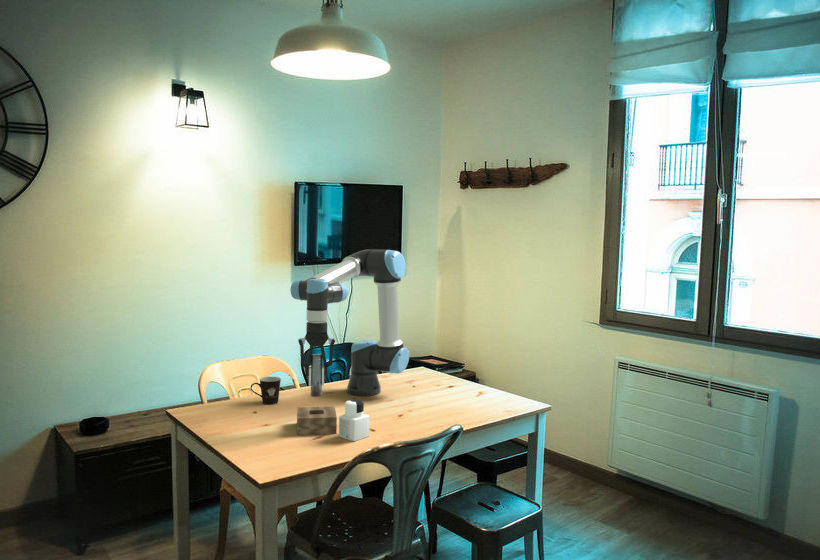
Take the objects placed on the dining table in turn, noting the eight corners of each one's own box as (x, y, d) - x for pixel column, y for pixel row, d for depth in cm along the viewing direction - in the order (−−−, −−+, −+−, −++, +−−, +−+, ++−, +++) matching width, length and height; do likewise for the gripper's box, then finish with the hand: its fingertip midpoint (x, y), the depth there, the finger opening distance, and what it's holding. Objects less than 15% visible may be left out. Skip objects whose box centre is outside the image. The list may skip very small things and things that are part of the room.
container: (353, 431, 231) (354, 396, 230) (369, 436, 227) (369, 400, 226) (338, 437, 226) (338, 401, 224) (354, 441, 221) (354, 405, 220)
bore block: (334, 421, 243) (334, 406, 242) (336, 433, 229) (336, 417, 228) (297, 423, 240) (297, 407, 240) (296, 435, 227) (297, 418, 226)
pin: (321, 393, 236) (322, 353, 235) (321, 396, 232) (322, 355, 231) (310, 394, 235) (311, 353, 234) (310, 396, 231) (311, 356, 230)
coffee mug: (283, 400, 272) (283, 377, 271) (277, 405, 263) (277, 381, 262) (256, 399, 273) (256, 375, 272) (249, 404, 264) (249, 380, 263)
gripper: (340, 319, 237) (339, 382, 238) (293, 320, 234) (292, 382, 236) (341, 322, 229) (340, 387, 231) (292, 323, 226) (292, 387, 228)
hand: (316, 384), depth 233 cm, fingers closed on pin, 4 cm apart
